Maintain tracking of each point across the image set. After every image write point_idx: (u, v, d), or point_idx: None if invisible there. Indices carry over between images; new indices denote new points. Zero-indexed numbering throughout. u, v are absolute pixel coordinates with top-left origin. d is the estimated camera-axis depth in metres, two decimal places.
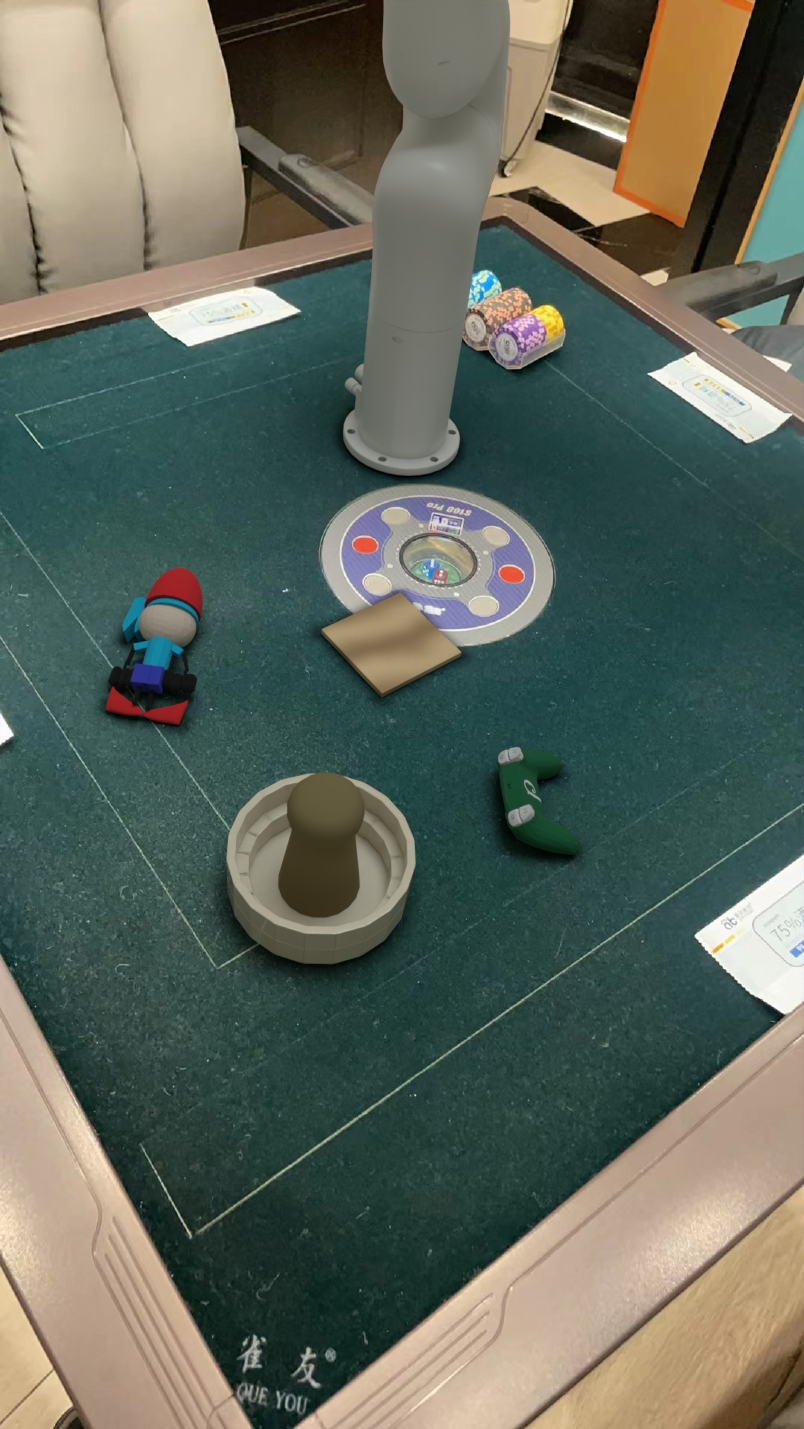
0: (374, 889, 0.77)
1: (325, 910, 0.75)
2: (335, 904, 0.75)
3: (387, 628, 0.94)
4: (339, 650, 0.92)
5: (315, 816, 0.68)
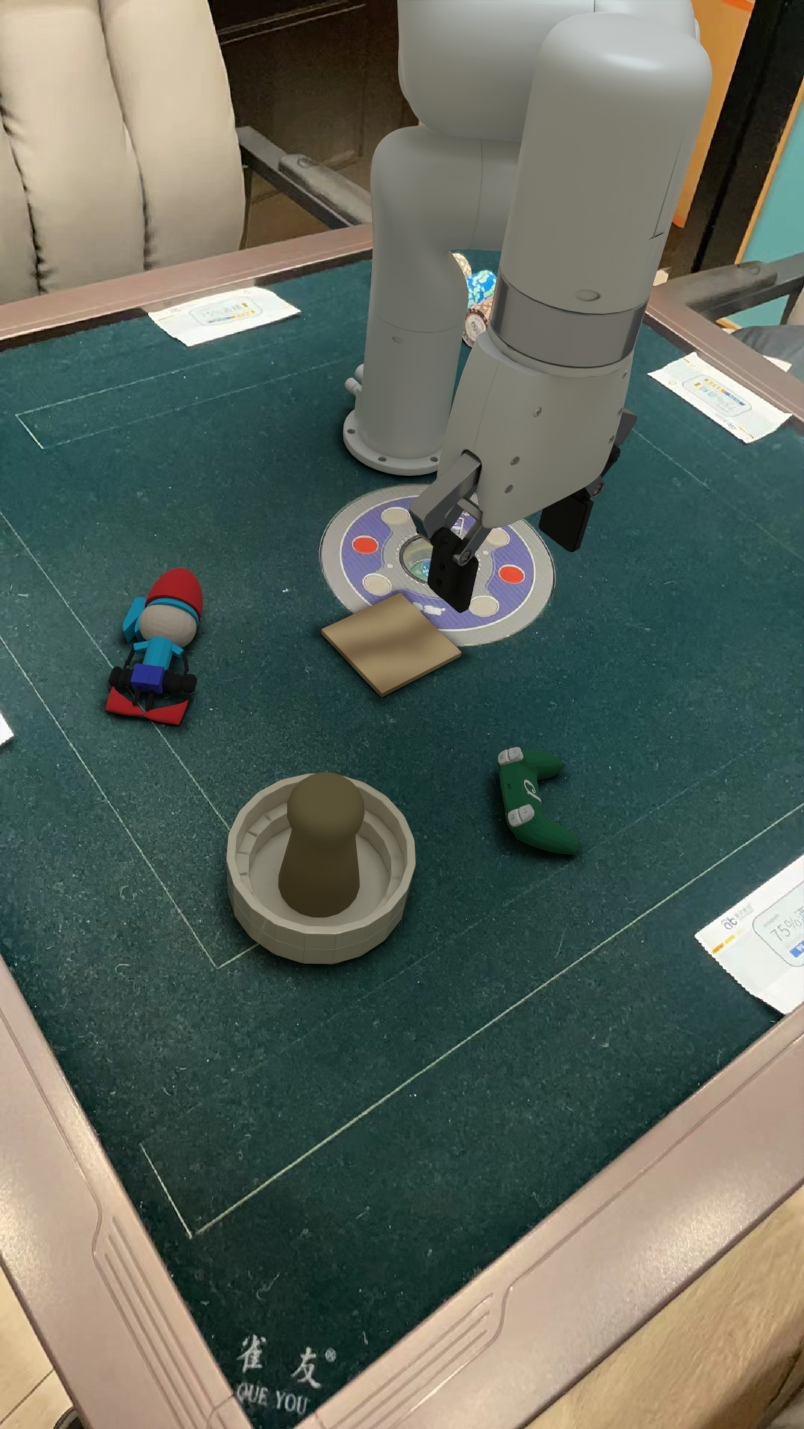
0: (374, 889, 0.77)
1: (325, 910, 0.75)
2: (335, 904, 0.75)
3: (387, 628, 0.94)
4: (339, 650, 0.92)
5: (315, 816, 0.68)
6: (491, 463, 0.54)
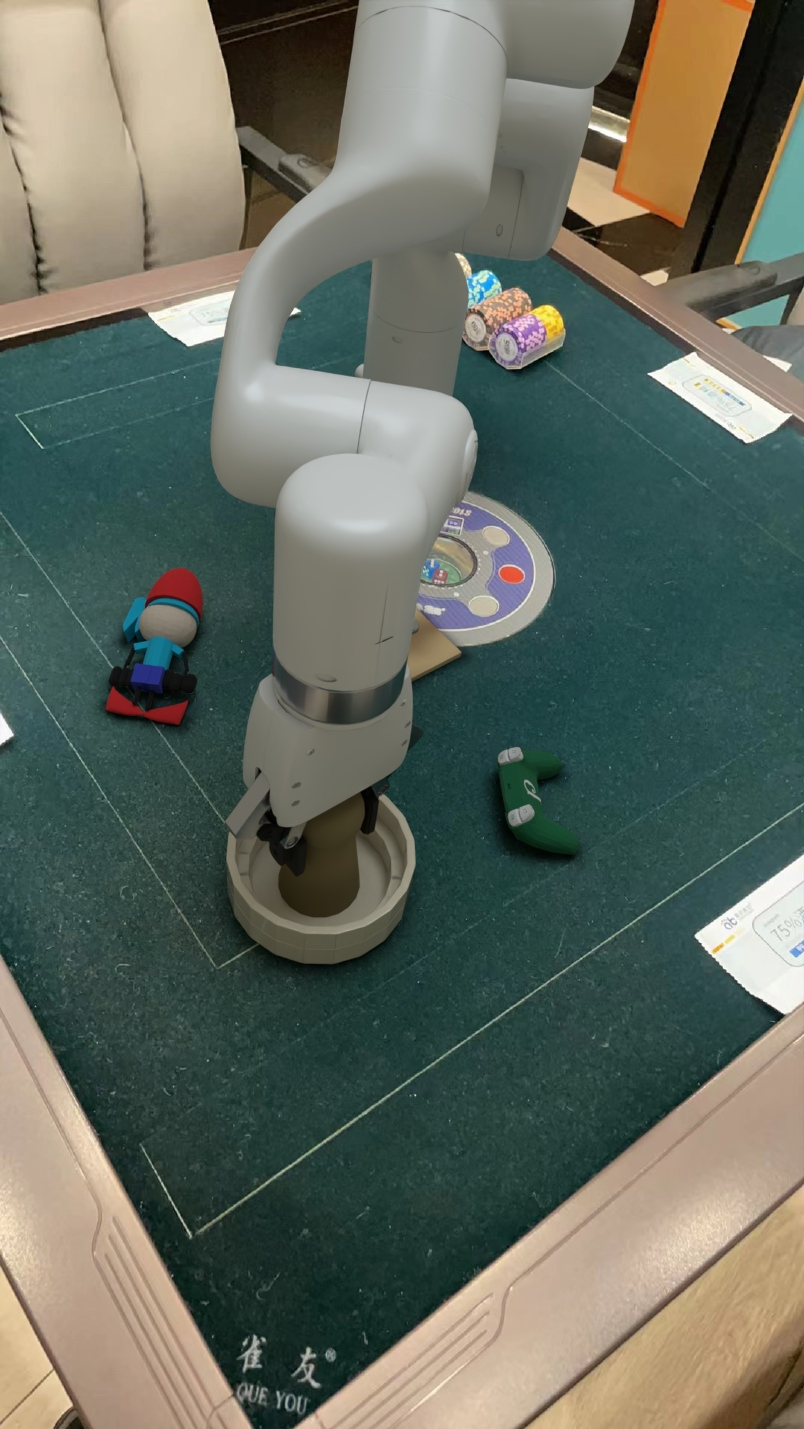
0: (374, 889, 0.77)
1: (325, 910, 0.75)
2: (335, 904, 0.75)
3: None
4: None
5: None
6: (276, 785, 0.61)
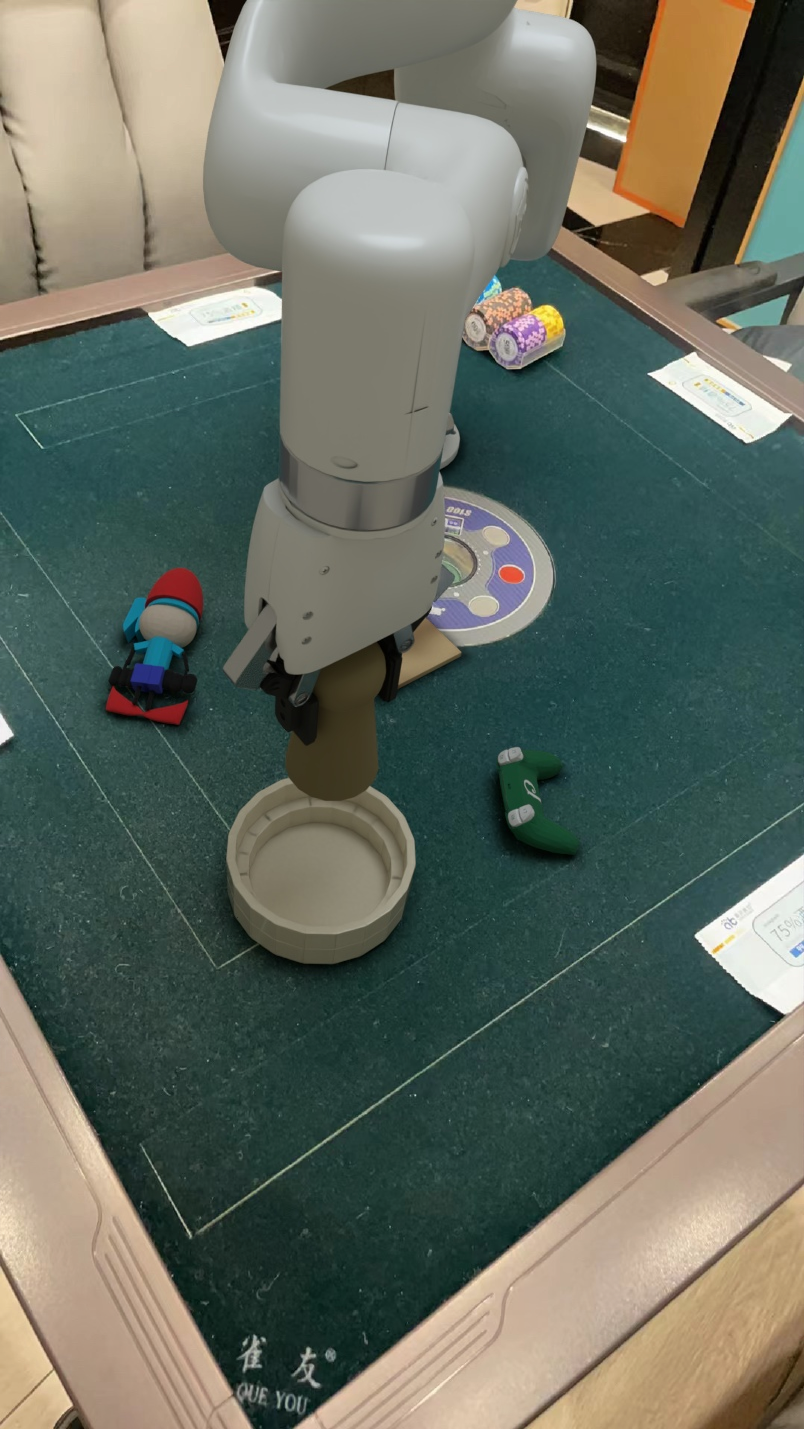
0: (374, 889, 0.77)
1: (339, 792, 0.65)
2: (351, 785, 0.65)
3: None
4: None
5: (329, 670, 0.58)
6: (283, 616, 0.51)
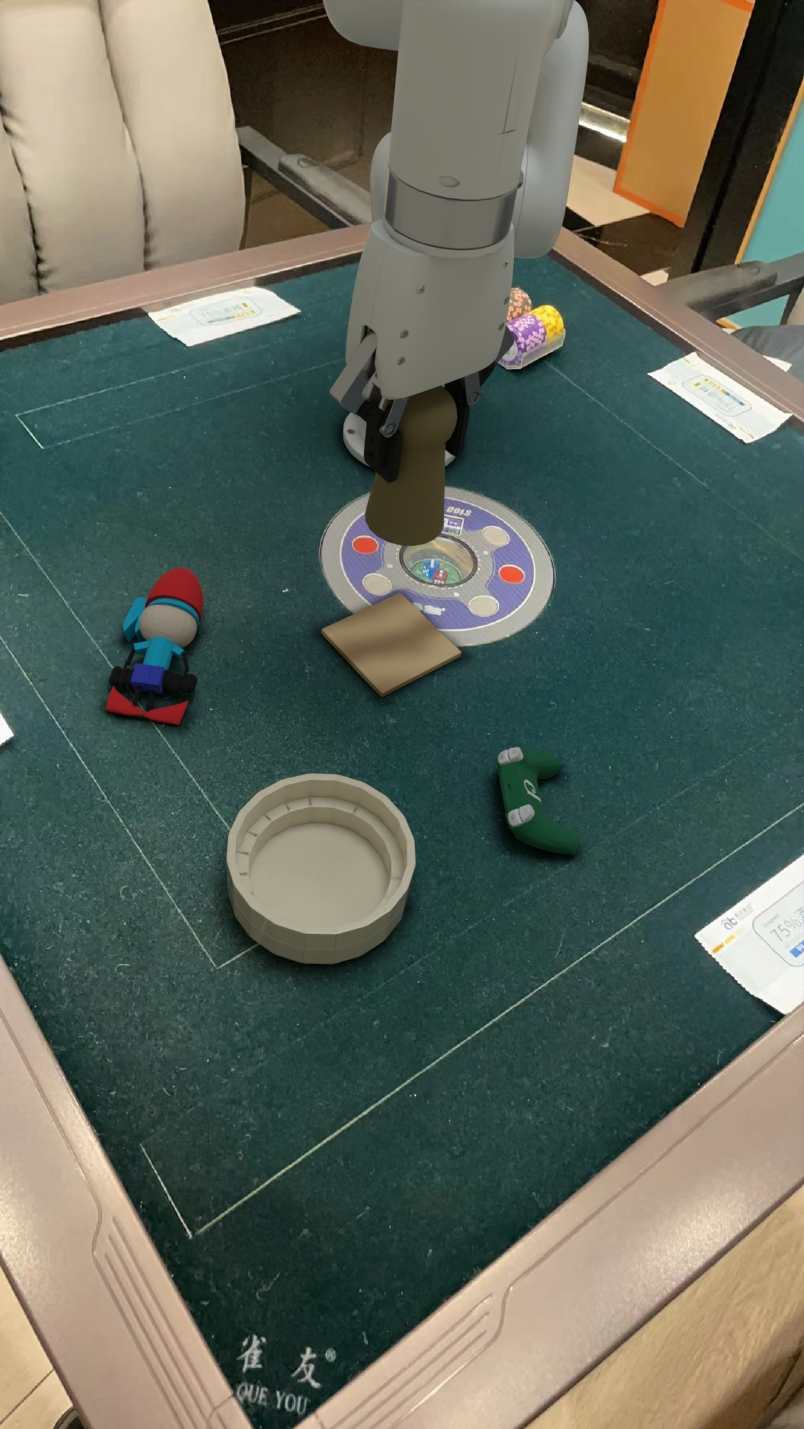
0: (374, 889, 0.77)
1: (413, 536, 0.77)
2: (423, 530, 0.77)
3: (387, 628, 0.94)
4: (339, 650, 0.92)
5: (412, 409, 0.70)
6: (384, 336, 0.63)
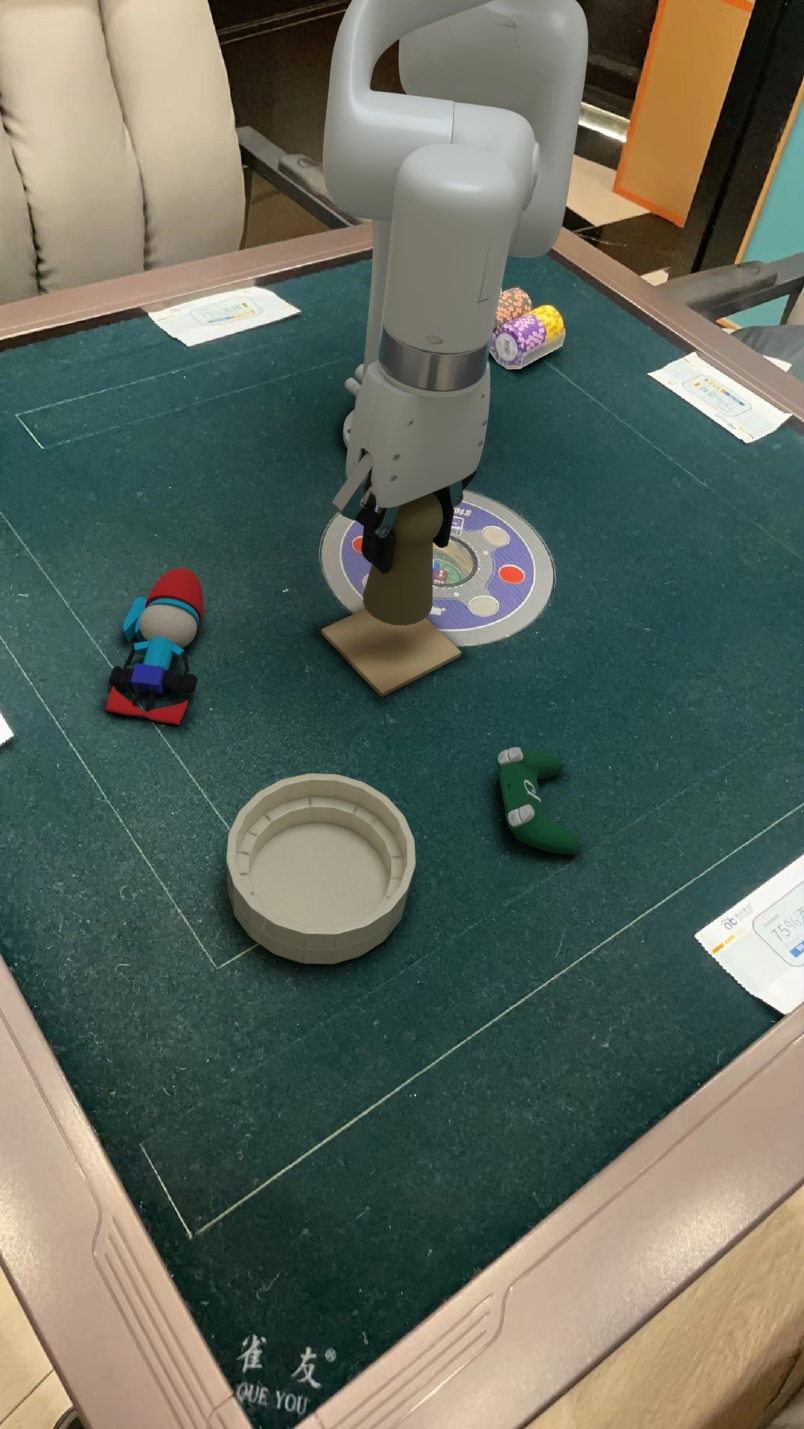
0: (374, 889, 0.77)
1: (405, 617, 0.87)
2: (413, 612, 0.87)
3: (387, 628, 0.94)
4: (339, 650, 0.92)
5: (403, 512, 0.80)
6: (379, 458, 0.74)
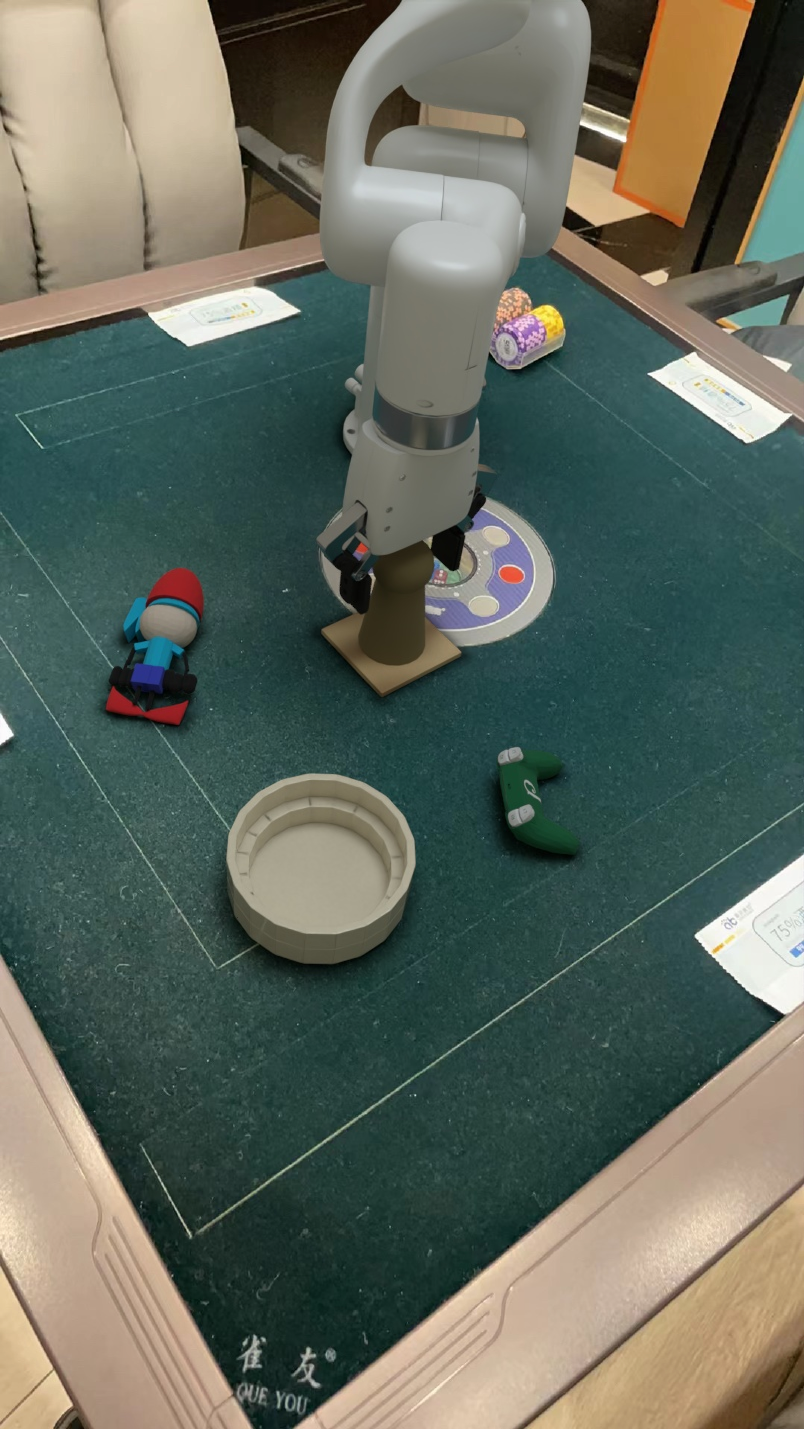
0: (374, 889, 0.77)
1: (398, 658, 0.91)
2: (407, 653, 0.91)
3: None
4: (339, 650, 0.92)
5: (396, 562, 0.84)
6: (373, 510, 0.77)
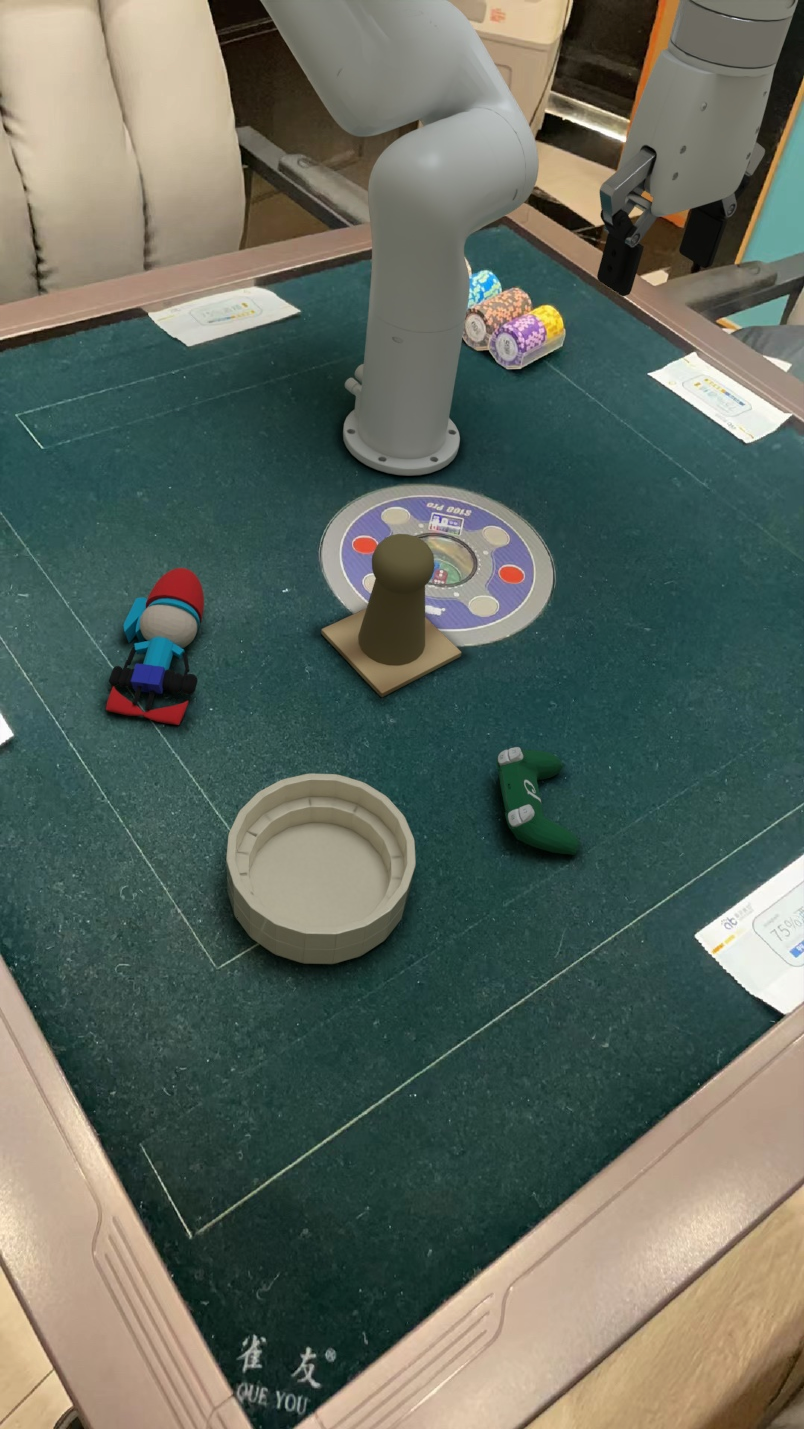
0: (374, 889, 0.77)
1: (398, 658, 0.91)
2: (407, 653, 0.91)
3: None
4: (339, 650, 0.92)
5: (396, 561, 0.84)
6: (664, 152, 0.73)
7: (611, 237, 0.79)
